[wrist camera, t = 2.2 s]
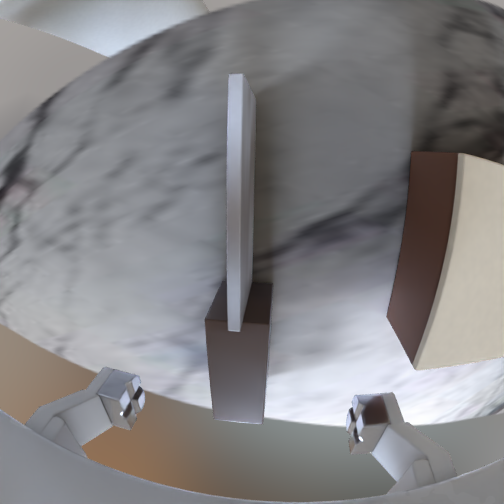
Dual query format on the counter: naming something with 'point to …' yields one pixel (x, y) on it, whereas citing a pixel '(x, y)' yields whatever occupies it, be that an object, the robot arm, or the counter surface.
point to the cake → (451, 262)
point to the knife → (239, 281)
